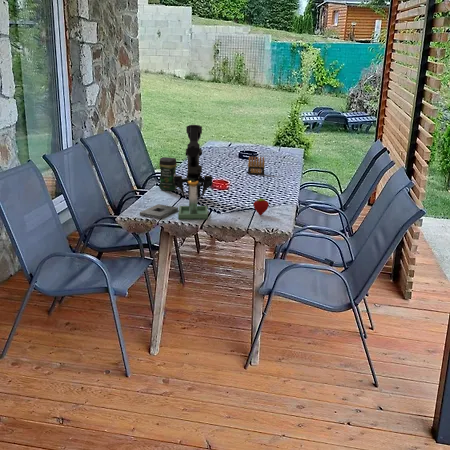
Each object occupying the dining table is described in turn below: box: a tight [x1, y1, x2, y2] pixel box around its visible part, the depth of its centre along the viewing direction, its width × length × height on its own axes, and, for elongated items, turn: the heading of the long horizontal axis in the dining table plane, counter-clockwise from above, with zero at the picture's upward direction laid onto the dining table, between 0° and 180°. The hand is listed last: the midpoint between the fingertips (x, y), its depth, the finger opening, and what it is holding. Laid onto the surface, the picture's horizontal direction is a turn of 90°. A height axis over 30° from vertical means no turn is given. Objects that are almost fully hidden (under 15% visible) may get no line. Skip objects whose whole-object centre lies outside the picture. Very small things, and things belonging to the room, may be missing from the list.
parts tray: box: [177, 205, 209, 220], centre depth 260 cm, size 14×14×2 cm
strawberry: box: [253, 197, 270, 216], centre depth 259 cm, size 6×8×10 cm
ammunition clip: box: [247, 155, 266, 176], centre depth 341 cm, size 11×2×12 cm, turn 83°
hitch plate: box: [139, 203, 179, 220], centre depth 262 cm, size 16×12×2 cm
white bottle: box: [188, 180, 199, 214], centre depth 257 cm, size 5×5×16 cm
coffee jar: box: [158, 156, 178, 192], centre depth 302 cm, size 10×8×19 cm
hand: (193, 196), depth 255 cm, fingers open, 9 cm apart
